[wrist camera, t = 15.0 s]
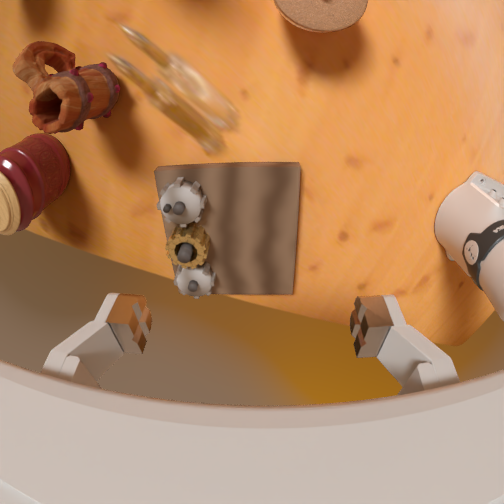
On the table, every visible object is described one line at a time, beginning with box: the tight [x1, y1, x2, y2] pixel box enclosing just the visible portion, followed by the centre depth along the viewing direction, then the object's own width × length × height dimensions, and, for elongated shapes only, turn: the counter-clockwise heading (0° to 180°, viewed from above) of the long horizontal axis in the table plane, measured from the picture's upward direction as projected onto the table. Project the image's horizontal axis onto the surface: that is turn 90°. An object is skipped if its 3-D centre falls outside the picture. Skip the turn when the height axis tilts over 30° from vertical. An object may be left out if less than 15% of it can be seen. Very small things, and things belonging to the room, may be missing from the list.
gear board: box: [154, 162, 300, 299], centre depth 47 cm, size 21×24×7 cm
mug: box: [13, 41, 120, 134], centre depth 28 cm, size 15×8×15 cm, turn 26°
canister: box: [0, 133, 70, 235], centre depth 35 cm, size 13×13×18 cm
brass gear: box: [166, 222, 210, 269], centre depth 47 cm, size 6×6×4 cm
